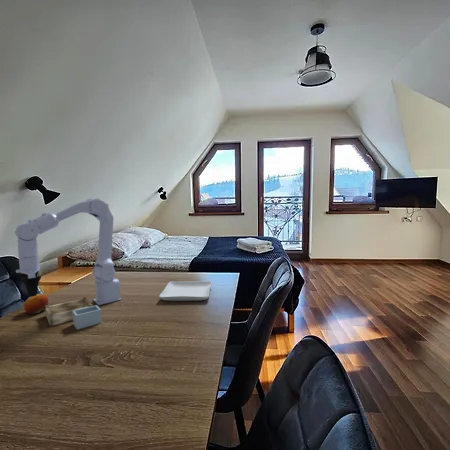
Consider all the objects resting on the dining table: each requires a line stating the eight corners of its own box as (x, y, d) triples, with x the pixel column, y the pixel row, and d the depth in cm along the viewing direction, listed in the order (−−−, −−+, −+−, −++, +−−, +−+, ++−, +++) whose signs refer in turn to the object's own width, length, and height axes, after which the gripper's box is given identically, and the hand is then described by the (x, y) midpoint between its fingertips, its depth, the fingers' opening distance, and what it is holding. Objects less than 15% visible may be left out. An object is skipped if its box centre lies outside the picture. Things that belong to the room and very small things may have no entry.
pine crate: (86, 306, 112) (85, 296, 112) (93, 314, 104) (92, 304, 104) (45, 315, 104) (45, 305, 103) (50, 325, 95) (49, 314, 95)
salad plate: (208, 303, 115) (208, 295, 114) (158, 304, 115) (158, 296, 115) (212, 287, 136) (212, 280, 135) (169, 287, 136) (169, 281, 136)
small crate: (97, 318, 101) (96, 305, 101) (101, 323, 97) (101, 309, 97) (73, 324, 96) (72, 310, 96) (76, 330, 92) (75, 315, 92)
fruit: (40, 313, 103) (30, 294, 103) (26, 322, 105) (16, 304, 105) (57, 304, 111) (48, 287, 111) (44, 313, 112) (34, 296, 113)
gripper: (14, 255, 101) (17, 290, 103) (15, 261, 90) (19, 301, 91) (36, 252, 106) (39, 286, 107) (41, 258, 95) (44, 296, 96)
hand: (31, 293), depth 100 cm, fingers open, 7 cm apart
